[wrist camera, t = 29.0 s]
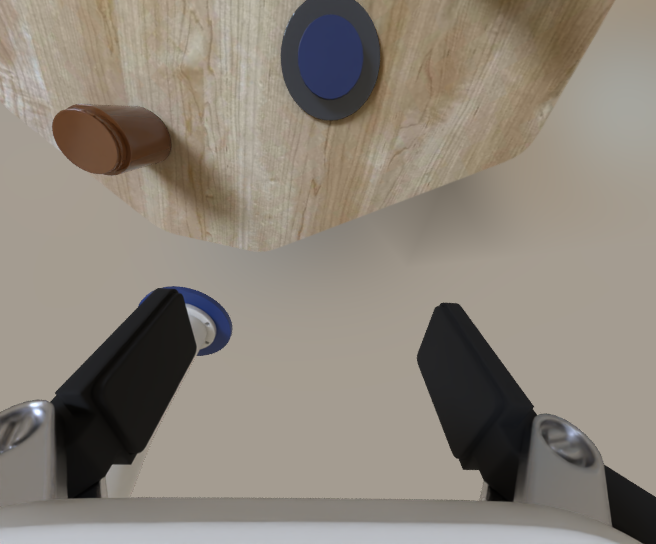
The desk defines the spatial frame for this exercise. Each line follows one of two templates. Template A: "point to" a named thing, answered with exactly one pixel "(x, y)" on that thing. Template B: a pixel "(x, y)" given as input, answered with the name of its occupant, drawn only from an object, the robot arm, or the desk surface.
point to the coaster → (317, 5)
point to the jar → (111, 137)
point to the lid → (330, 57)
